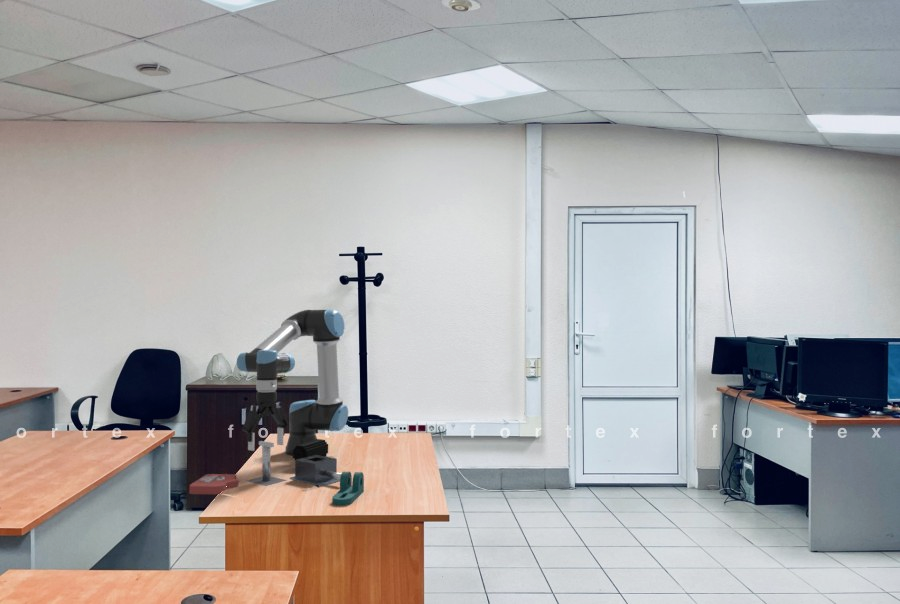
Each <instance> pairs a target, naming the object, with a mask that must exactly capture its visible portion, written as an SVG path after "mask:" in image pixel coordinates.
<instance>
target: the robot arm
mask: <svg viewBox="0 0 900 604" xmlns="http://www.w3.org/2000/svg"><path fill="white" fill-rule="evenodd" d="M344 332H345V321H344V318H343V315H342V314H341V313H340V312H339V310H334V309H333V310H332V309H304V310H300V311H298V312H296V313H294V314H292V315H290V316H289V317H286V319H285V320H283V321H282V323H281V325H280V327H279V328H278V329H276V330H275V331H274V332H272V334H270V335H269V336H267V338H266V339H264V340H263V341H262V342H261V343H259V345H257V346H256V347H255V348H254V349H252V350H251V351H250V352H247V351H246V352H242V353H240V354H239V355H238V356H237V358H236V365H237V369H238V370H239V371H240V372H246V373H256V384H255V386H256V388H255V390H256V393H255V394H256V395H255V396H256V400H255V401H256V405H252V404H251V405H249V411H248V414H247V415H246V418H245V421H244V424H243V426H242V429H241V431H242V432H245V433H246V441H247V450H248V451H252V452H254V451H255V444H256V443H255V432H254V431H255V429H256V428H257V426H258V424H259V423H260V421H261V420H262V419H263V418H264V417H267V416H271V417H272V418H273V420H274V421H275V423H276V425H278V427H277V429H276V433H277V435H276V437H277V438H276V439H277V440H276V444H277V445H279V446H284V436H285V433H286V430H285V429H286V428H288V427H289V433H288V435H289V437H288V439H287V444H286V446H285V447H284V448H285V449H284V450H285V454H286V455H289V456H293V449H294V448H295V447H296V445H299V444H303V443H306V442H310V441H313V440H316V439H318V437H317V434H316V432H317V431H327V432H329V431H330V432H340V431H342V430H343V429H344V428H345V426H346V424H347V421H348V418H349V409H348V407H347V406H348V405H346V404H343V403H344V401H343V398H341V397H340V392H339V391H340V390H339V371H338V367H339V366H338V349H337V347H338V346H337V345H338V343H339V341H341V339H340V338H341V337H343V335H344ZM301 337H312V341H313V342H314V344H315V345H316V352H317V353H316V355H317V373H318V374H317V376H318V378H317V379H318V393H319V394H318V395H319V397H318V399H316V400H315V399H305V400H299V401H294V402H292V403H291V404H290V405H289V412H288V415H289V420H288V417H287V415H286V411H285V409H284V403H283V402H282V401H281V402H280V401H278V400H277V399H278V392H277V389H278V374H286V373H289V372H291V371H292V370H293V369H294V368H295V367H296V366H295V365H296V361H295V358H294V356H293V355H292V354H290V353H285V352H283V353H280V351H282V350H283V349H284V348H285V347H287V345H289V344H290V342H292V341H295V340H297V339H299V338H301ZM313 342H312V343H313Z"/></svg>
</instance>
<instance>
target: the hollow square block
mask: <svg viewBox="0 0 900 604" xmlns="http://www.w3.org/2000/svg"><path fill="white" fill-rule="evenodd" d="M337 464H338V459H337V458H335V457H330V456H326V457H325V456H320V455H314V456H310V457H306V458H301V459H297V460H295V459H294V476H292V477H289V480H293V481H298V482H303V483H306V484H310V485H314V487H318V488H320V487H323V486H326V485H327V486H328V485H330V484H331V485H332V484H333V483H338V482H340V478H341V474H342V472H341V473H339V472H338V471H337V470H338V469H337V466H338V465H337Z"/></svg>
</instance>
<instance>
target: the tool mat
mask: <svg viewBox="0 0 900 604" xmlns="http://www.w3.org/2000/svg"><path fill="white" fill-rule="evenodd" d="M245 481H246V482H249V483H253V484H257V485H262V486H266V487H267V486H271V485H276V484H279V483H283V482H286V481H288V479H285V478H280V477H275V476H271V475H270V481H262V476H259V477H254V478H251V479H247V480H245Z"/></svg>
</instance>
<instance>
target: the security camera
mask: <svg viewBox="0 0 900 604" xmlns="http://www.w3.org/2000/svg"><path fill="white" fill-rule="evenodd" d="M327 454H329V443H328V441H326V439H320V438H317V439H316V440H313V441H310V442H306V443H303V444H299V445H296V447H295V448H294V449H293V455H292V459H294V461H295V460H297V459H301V458H306V457H310V456H314V455H320V456H325V457H327Z"/></svg>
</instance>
